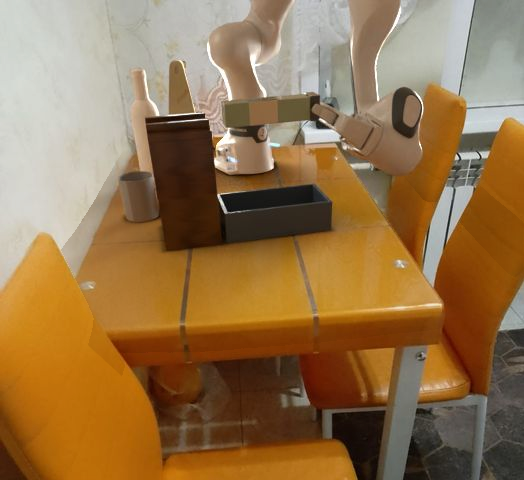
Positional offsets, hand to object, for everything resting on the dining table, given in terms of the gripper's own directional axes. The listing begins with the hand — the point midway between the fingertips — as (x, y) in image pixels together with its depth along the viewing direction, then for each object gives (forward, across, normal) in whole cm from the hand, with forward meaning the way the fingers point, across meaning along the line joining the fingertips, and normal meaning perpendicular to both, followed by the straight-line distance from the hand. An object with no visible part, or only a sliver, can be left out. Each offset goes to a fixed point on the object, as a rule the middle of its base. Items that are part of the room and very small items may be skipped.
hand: (308, 104), depth 103 cm
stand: (+12, 0, +36) cm, 38 cm away
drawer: (+6, 0, +6) cm, 9 cm away
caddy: (+4, -71, +32) cm, 78 cm away
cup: (+21, -16, +42) cm, 50 cm away
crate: (-6, 0, +27) cm, 27 cm away
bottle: (+17, -41, +40) cm, 59 cm away
